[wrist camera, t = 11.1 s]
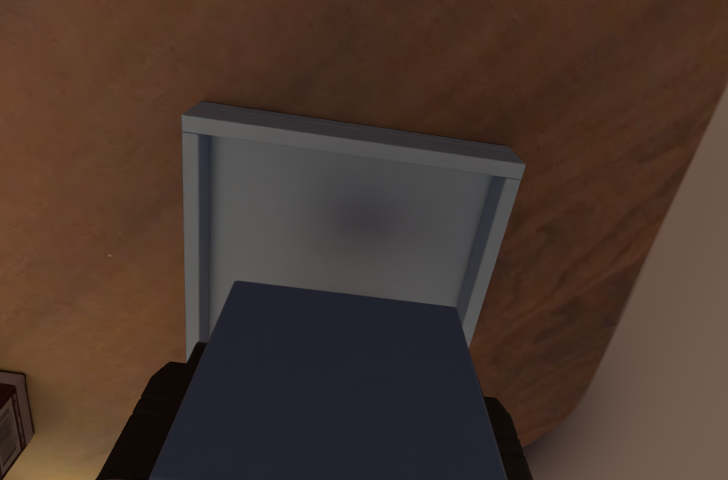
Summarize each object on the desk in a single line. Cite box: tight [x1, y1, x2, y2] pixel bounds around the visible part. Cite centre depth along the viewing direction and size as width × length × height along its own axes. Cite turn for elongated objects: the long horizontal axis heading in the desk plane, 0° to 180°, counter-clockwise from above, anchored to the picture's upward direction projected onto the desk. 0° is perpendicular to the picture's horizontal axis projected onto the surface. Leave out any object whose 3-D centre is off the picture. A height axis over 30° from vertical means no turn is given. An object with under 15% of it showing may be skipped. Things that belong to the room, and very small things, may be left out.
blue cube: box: [149, 280, 507, 480], centre depth 10 cm, size 5×5×5 cm
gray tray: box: [181, 102, 526, 363], centre depth 22 cm, size 14×12×2 cm
